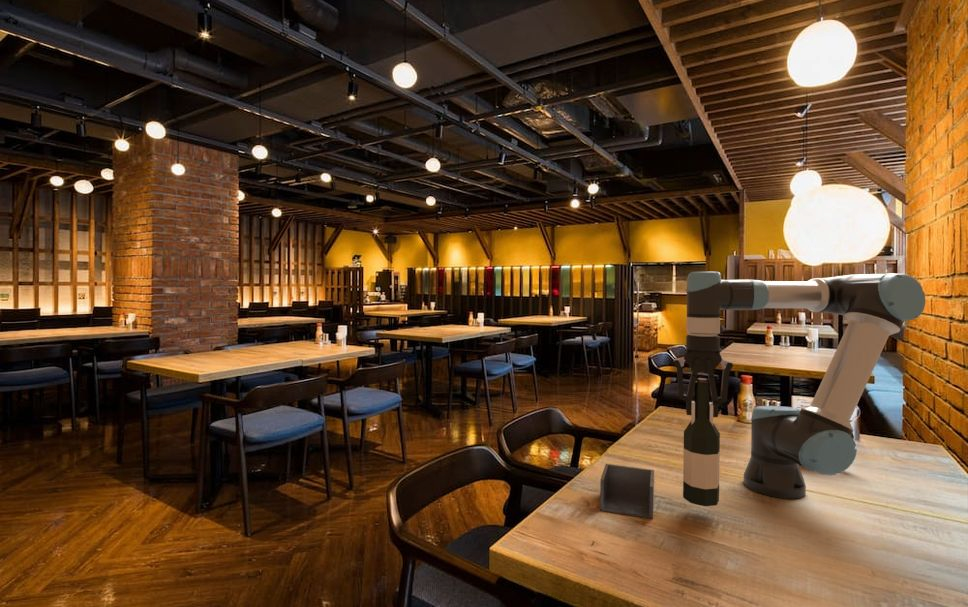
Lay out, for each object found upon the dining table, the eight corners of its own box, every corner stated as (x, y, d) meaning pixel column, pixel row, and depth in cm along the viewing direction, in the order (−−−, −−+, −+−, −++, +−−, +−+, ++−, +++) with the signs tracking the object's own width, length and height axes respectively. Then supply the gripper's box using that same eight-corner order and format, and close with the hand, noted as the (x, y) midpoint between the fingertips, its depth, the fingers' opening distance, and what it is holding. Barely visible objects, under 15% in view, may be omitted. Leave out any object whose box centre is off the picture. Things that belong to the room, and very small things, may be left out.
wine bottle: (723, 508, 114) (725, 382, 113) (686, 504, 116) (687, 381, 115) (714, 493, 123) (715, 376, 122) (679, 490, 124) (680, 375, 123)
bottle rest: (653, 499, 128) (654, 470, 128) (652, 519, 117) (653, 486, 117) (605, 492, 132) (605, 463, 132) (600, 510, 122) (600, 479, 121)
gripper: (738, 334, 119) (736, 428, 119) (667, 332, 124) (666, 421, 125) (742, 337, 112) (741, 436, 112) (667, 334, 117) (666, 429, 118)
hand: (701, 428), depth 119 cm, fingers closed on wine bottle, 3 cm apart
